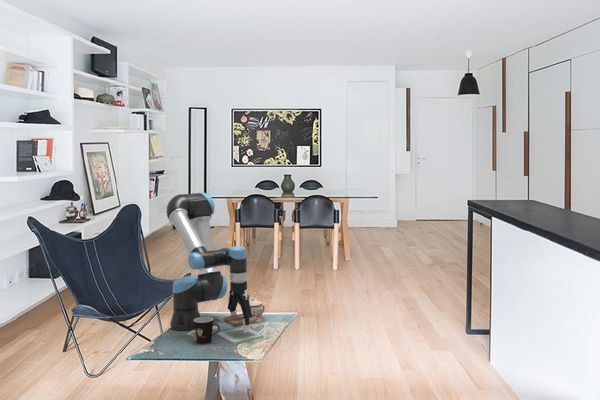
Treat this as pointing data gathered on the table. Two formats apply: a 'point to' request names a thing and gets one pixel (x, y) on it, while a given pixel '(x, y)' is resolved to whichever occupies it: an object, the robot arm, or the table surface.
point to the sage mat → (240, 335)
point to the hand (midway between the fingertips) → (240, 328)
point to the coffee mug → (204, 329)
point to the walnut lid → (237, 320)
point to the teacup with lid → (256, 309)
